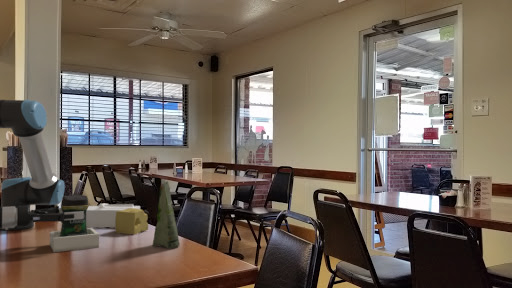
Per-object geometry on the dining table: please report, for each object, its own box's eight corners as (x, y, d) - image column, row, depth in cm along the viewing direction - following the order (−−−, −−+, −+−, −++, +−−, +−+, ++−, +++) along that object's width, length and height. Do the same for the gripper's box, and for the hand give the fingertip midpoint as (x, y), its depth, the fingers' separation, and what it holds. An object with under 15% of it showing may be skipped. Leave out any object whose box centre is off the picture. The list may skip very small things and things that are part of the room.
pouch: (161, 251, 149) (162, 183, 149) (143, 246, 157) (145, 181, 157) (186, 246, 157) (187, 181, 157) (168, 241, 165) (169, 179, 165)
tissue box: (89, 223, 205) (89, 201, 205) (139, 222, 207) (140, 201, 207) (79, 228, 191) (79, 205, 191) (133, 228, 193) (133, 205, 193)
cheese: (148, 230, 186) (148, 209, 186) (134, 235, 176) (134, 212, 176) (129, 229, 189) (129, 207, 189) (114, 233, 179) (114, 210, 179)
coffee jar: (62, 247, 149) (63, 197, 149) (58, 243, 156) (59, 194, 156) (89, 244, 155) (90, 195, 155) (84, 240, 161) (85, 193, 162)
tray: (49, 244, 157) (50, 231, 157) (92, 240, 165) (92, 228, 165) (53, 252, 145) (53, 238, 146) (98, 247, 154) (99, 234, 154)
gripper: (14, 222, 156) (74, 217, 167) (17, 233, 134) (86, 227, 146) (15, 202, 156) (75, 199, 167) (18, 211, 135) (86, 206, 146)
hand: (80, 212), depth 157 cm, fingers open, 13 cm apart
